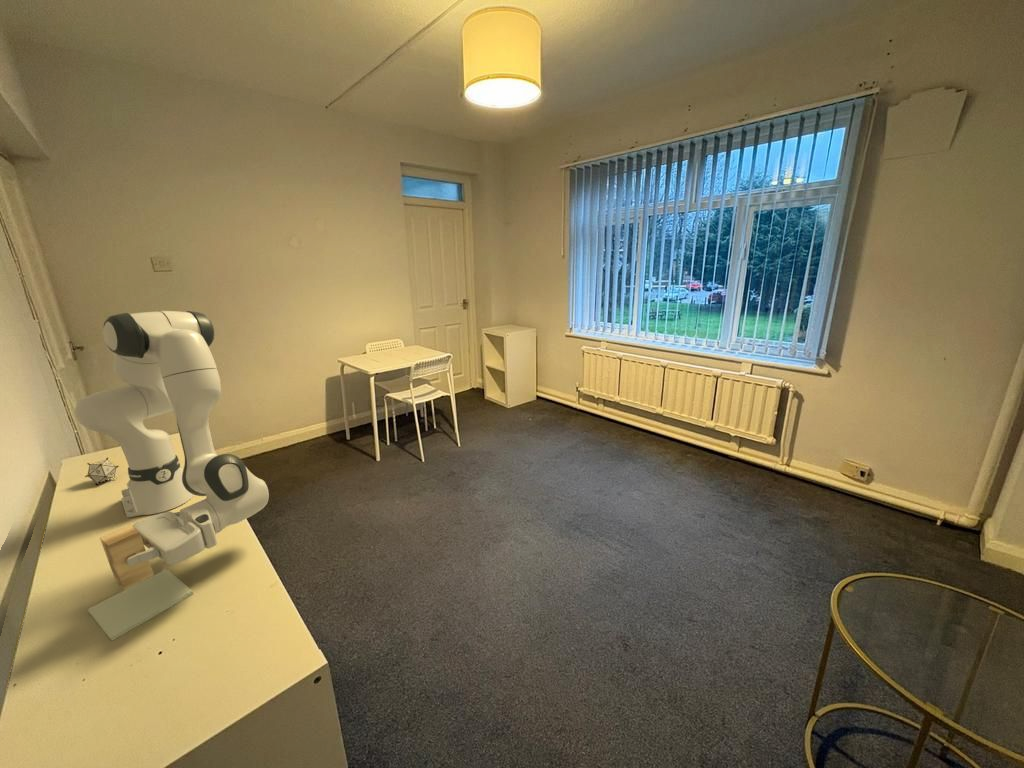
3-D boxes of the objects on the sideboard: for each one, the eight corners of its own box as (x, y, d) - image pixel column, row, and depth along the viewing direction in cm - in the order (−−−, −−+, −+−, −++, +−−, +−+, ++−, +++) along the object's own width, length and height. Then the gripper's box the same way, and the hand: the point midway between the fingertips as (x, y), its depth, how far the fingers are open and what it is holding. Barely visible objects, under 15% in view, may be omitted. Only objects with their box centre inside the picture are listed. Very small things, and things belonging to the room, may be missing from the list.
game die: (111, 488, 148) (122, 460, 151) (115, 486, 142) (126, 458, 146) (77, 485, 142) (89, 456, 145) (79, 483, 136) (91, 453, 140)
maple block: (115, 581, 88) (99, 537, 85) (144, 567, 92) (130, 524, 89) (124, 590, 86) (108, 545, 83) (153, 575, 90) (139, 531, 87)
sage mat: (89, 612, 89) (87, 609, 88) (167, 571, 100) (166, 569, 100) (111, 640, 82) (110, 637, 81) (193, 593, 93) (192, 591, 93)
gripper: (174, 499, 102) (100, 529, 91) (213, 523, 92) (135, 560, 80) (181, 521, 104) (108, 553, 93) (220, 547, 93) (144, 587, 82)
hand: (121, 557), depth 86 cm, fingers closed on maple block, 5 cm apart
